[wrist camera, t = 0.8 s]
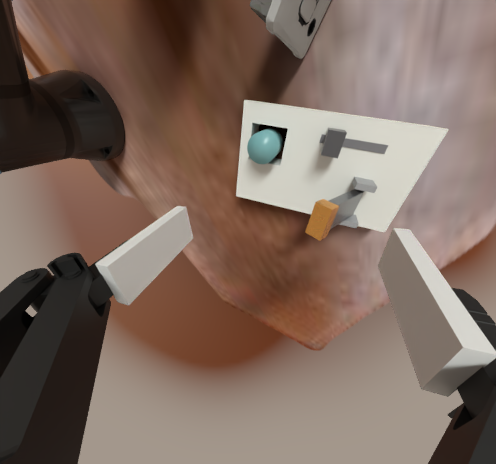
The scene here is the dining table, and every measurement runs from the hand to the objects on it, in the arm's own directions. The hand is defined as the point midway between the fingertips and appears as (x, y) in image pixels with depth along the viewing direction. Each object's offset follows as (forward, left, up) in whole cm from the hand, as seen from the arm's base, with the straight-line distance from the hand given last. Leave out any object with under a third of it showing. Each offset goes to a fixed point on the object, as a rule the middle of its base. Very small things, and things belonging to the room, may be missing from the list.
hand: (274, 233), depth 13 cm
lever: (+9, -3, -18) cm, 20 cm away
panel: (+3, 0, -23) cm, 23 cm away
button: (-5, +2, -21) cm, 22 cm away
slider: (+3, +4, -19) cm, 20 cm away
